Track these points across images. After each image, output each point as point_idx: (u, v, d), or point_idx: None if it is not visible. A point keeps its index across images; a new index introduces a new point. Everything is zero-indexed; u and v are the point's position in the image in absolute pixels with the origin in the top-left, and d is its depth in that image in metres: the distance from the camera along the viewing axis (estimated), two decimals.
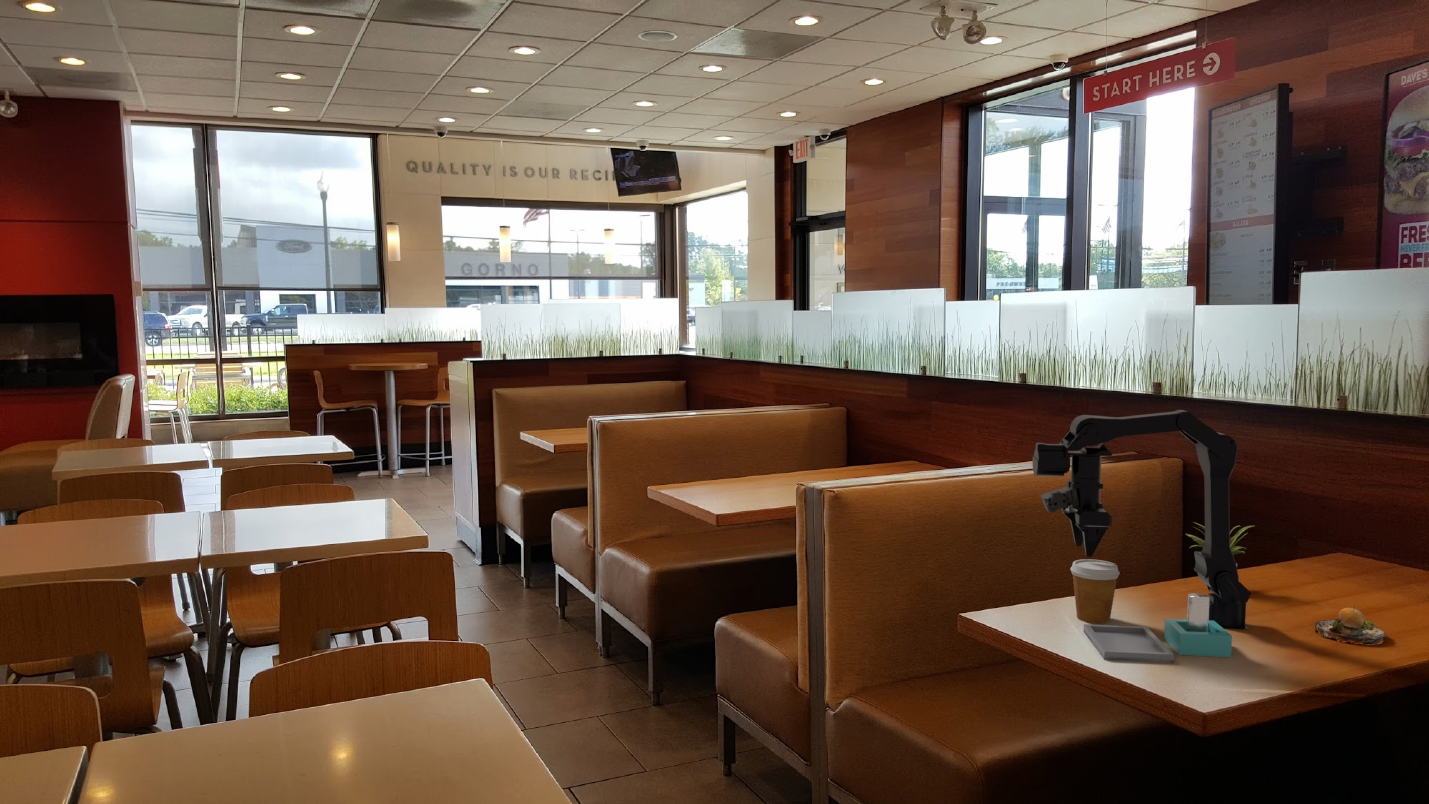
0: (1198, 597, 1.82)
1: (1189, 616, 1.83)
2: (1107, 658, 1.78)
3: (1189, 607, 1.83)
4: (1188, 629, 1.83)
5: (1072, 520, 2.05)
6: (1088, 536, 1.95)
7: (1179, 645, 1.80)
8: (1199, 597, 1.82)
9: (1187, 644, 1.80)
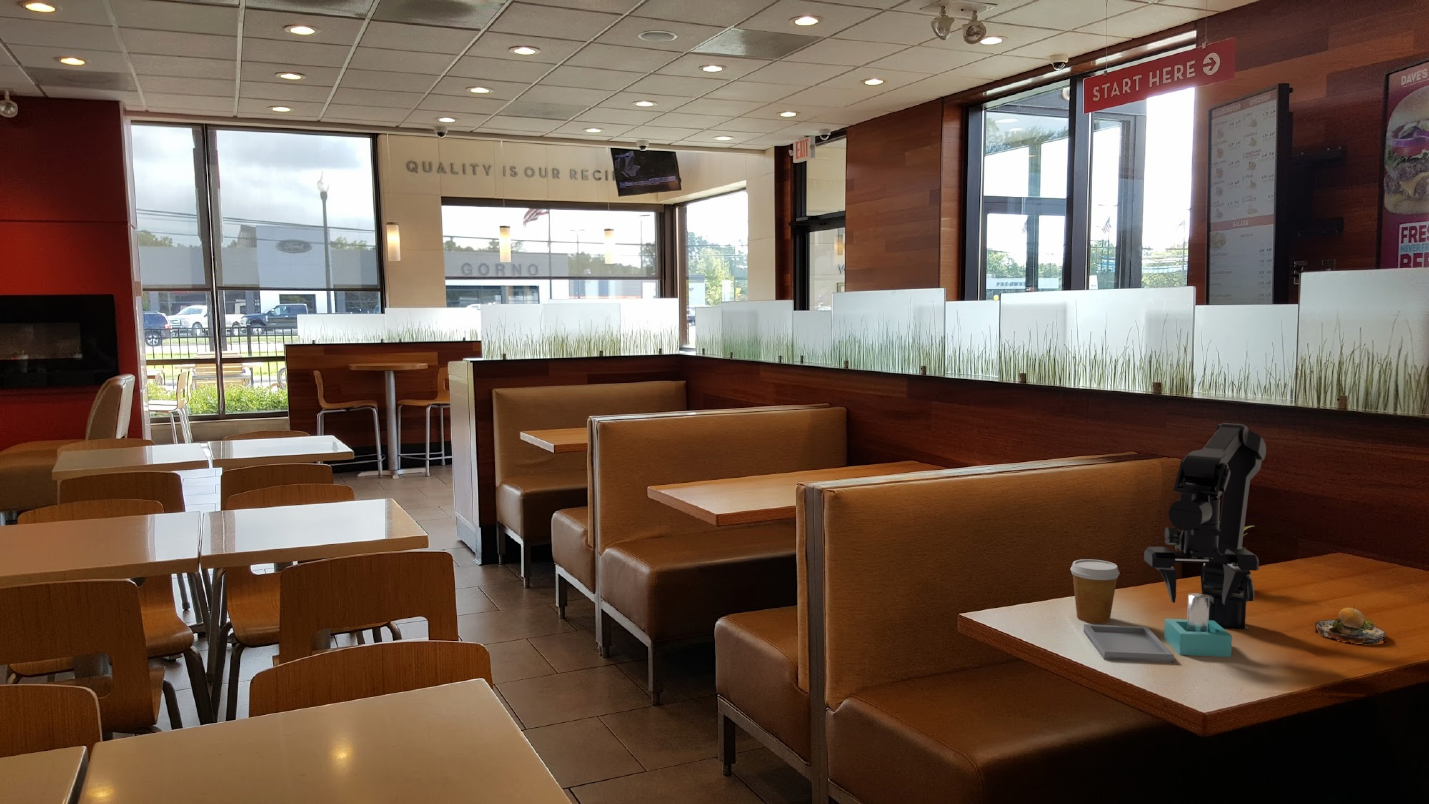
0: (1198, 597, 1.82)
1: (1189, 616, 1.83)
2: (1107, 658, 1.78)
3: (1189, 607, 1.83)
4: (1188, 629, 1.83)
5: (1224, 573, 1.83)
6: (1165, 578, 1.84)
7: (1179, 645, 1.80)
8: (1199, 597, 1.82)
9: (1187, 644, 1.80)
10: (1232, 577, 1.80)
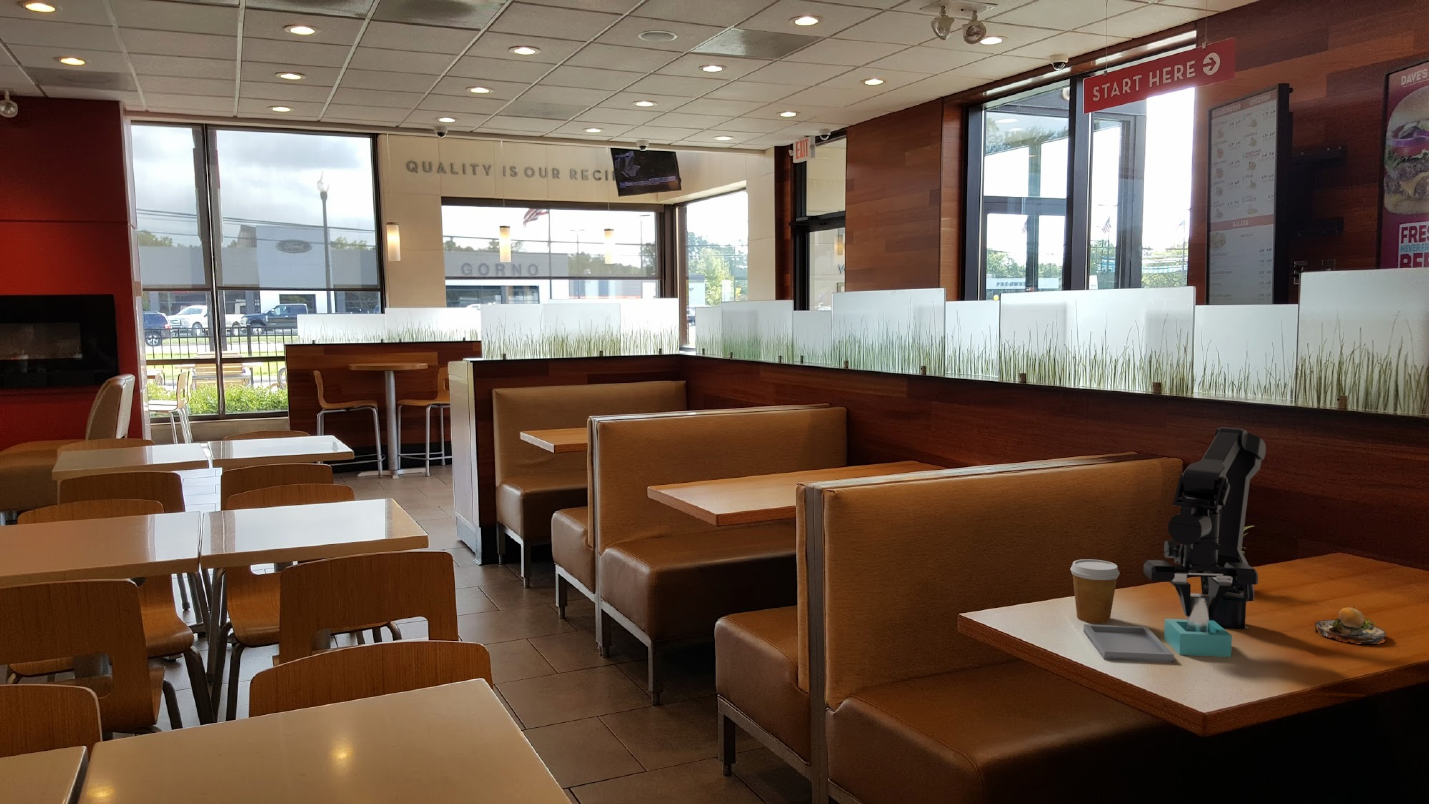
0: (1198, 597, 1.82)
1: (1189, 616, 1.83)
2: (1107, 658, 1.78)
3: None
4: (1188, 629, 1.83)
5: (1209, 587, 1.84)
6: (1179, 592, 1.84)
7: (1179, 645, 1.80)
8: (1199, 597, 1.82)
9: (1187, 644, 1.80)
10: (1216, 591, 1.81)
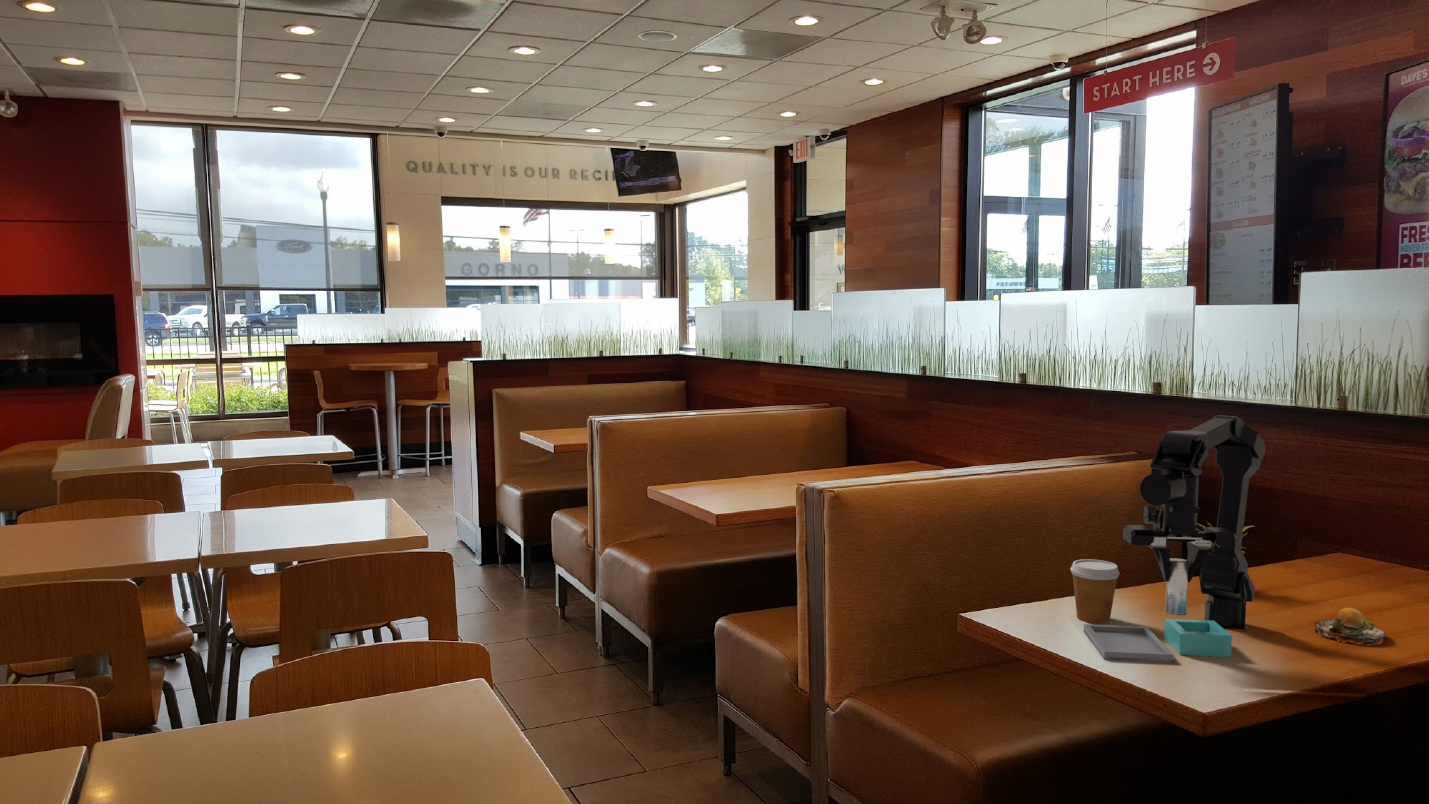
0: (1177, 561, 1.81)
1: (1168, 581, 1.82)
2: (1107, 658, 1.78)
3: None
4: (1167, 594, 1.83)
5: (1188, 551, 1.83)
6: (1159, 556, 1.83)
7: (1179, 645, 1.80)
8: (1178, 561, 1.81)
9: (1187, 644, 1.80)
10: (1195, 555, 1.80)
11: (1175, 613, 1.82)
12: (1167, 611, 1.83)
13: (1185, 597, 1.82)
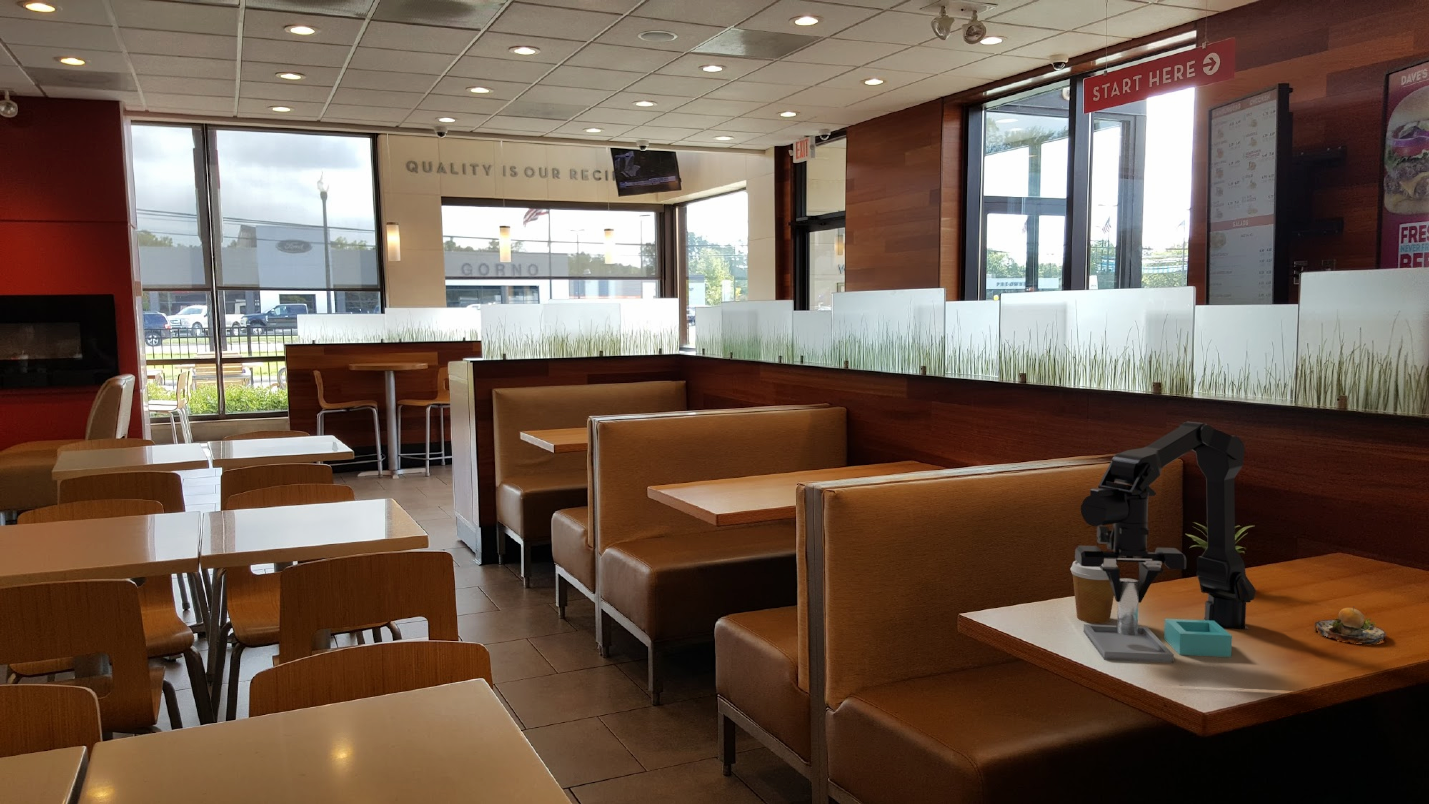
0: (1128, 582, 1.83)
1: (1119, 601, 1.84)
2: (1107, 658, 1.78)
3: None
4: (1118, 614, 1.84)
5: (1139, 572, 1.84)
6: (1110, 577, 1.85)
7: (1179, 645, 1.80)
8: (1129, 582, 1.83)
9: (1187, 644, 1.80)
10: (1145, 576, 1.81)
11: (1126, 633, 1.83)
12: (1118, 631, 1.84)
13: (1136, 618, 1.83)
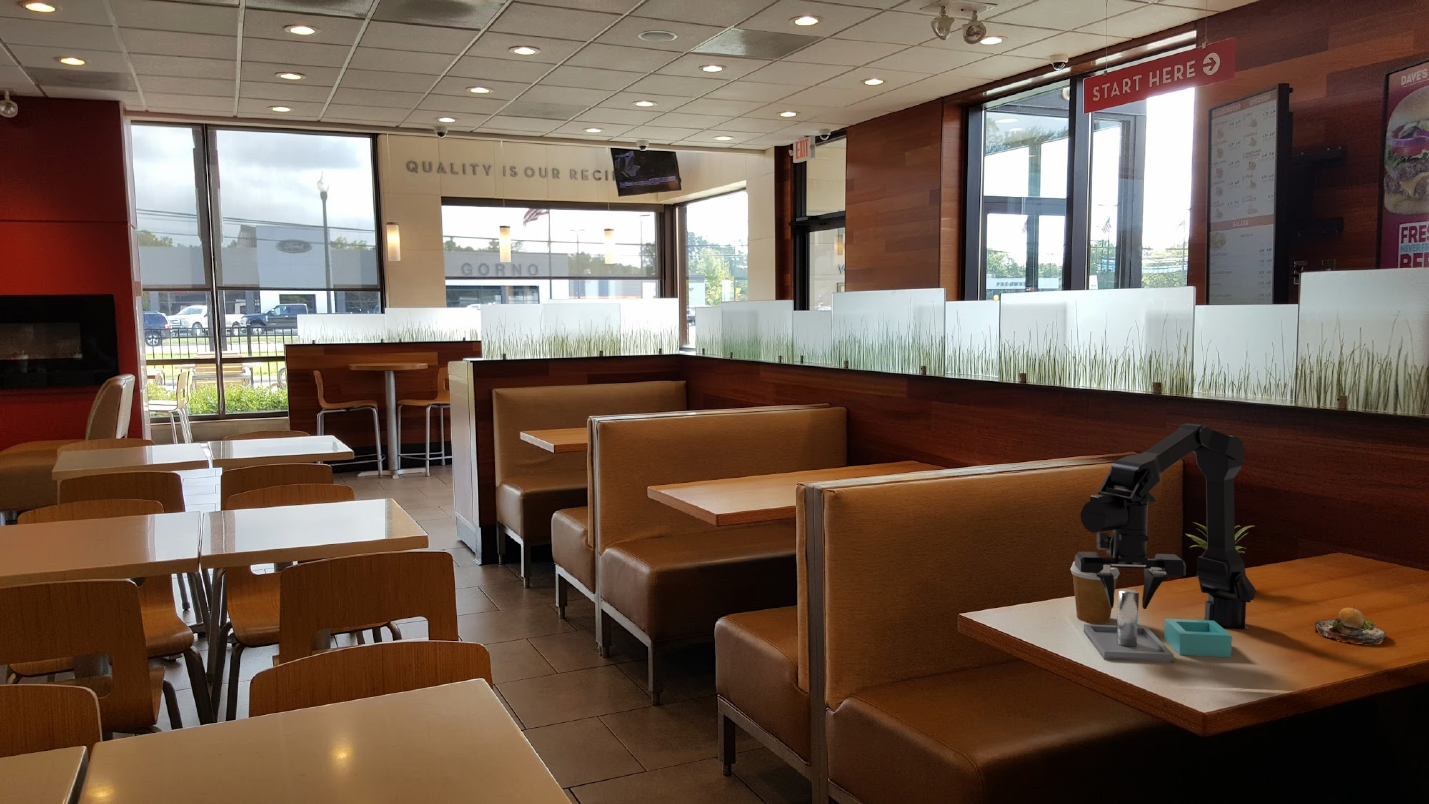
0: (1128, 592, 1.83)
1: (1119, 611, 1.84)
2: (1107, 658, 1.78)
3: (1119, 602, 1.84)
4: (1118, 624, 1.84)
5: (1145, 578, 1.84)
6: (1104, 583, 1.85)
7: (1179, 645, 1.80)
8: (1129, 592, 1.83)
9: (1187, 644, 1.80)
10: (1150, 582, 1.81)
11: (1125, 644, 1.83)
12: (1118, 642, 1.84)
13: (1136, 628, 1.83)
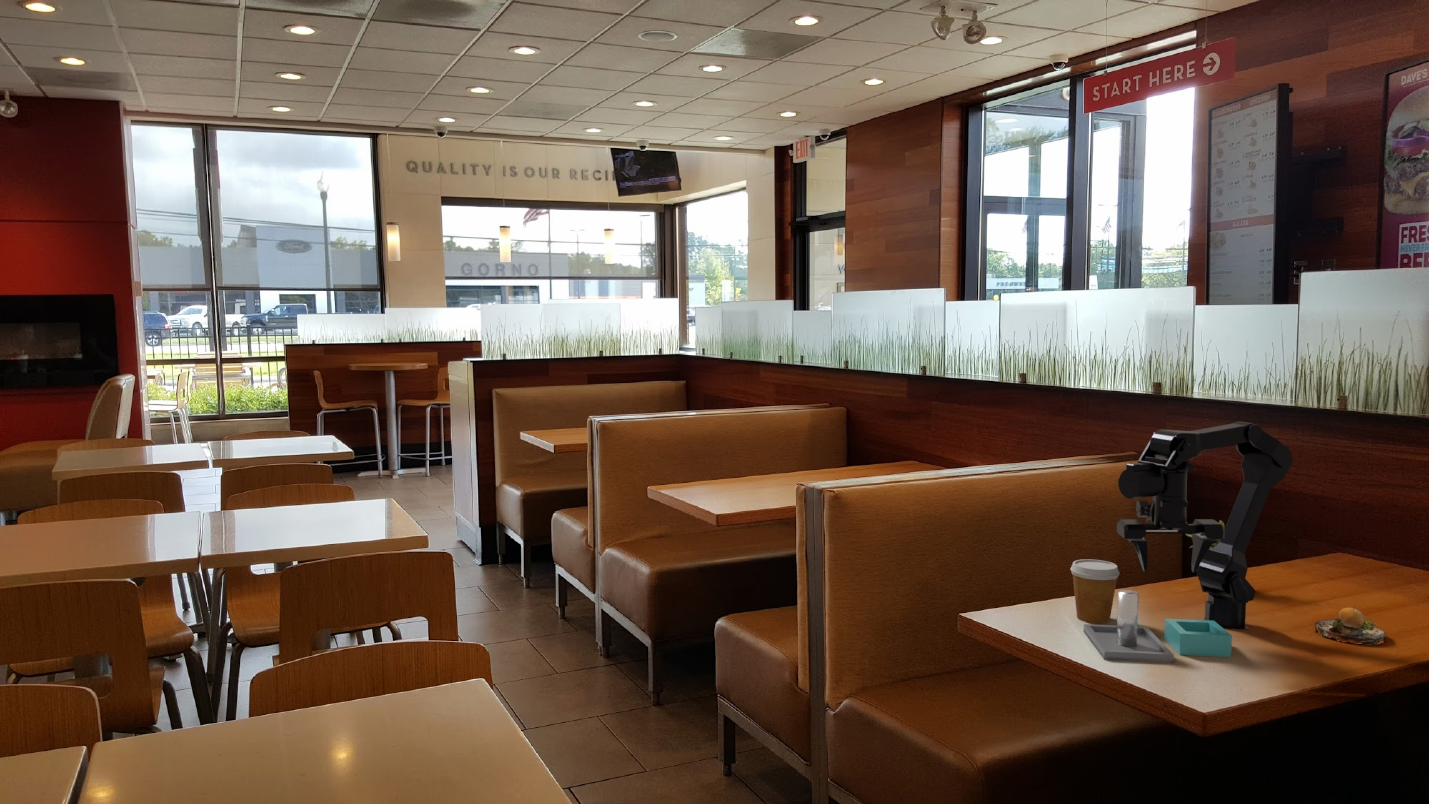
0: (1127, 593, 1.83)
1: (1119, 612, 1.84)
2: (1107, 658, 1.78)
3: (1119, 603, 1.84)
4: (1118, 625, 1.84)
5: (1193, 543, 1.93)
6: (1137, 549, 1.93)
7: (1179, 645, 1.80)
8: (1128, 593, 1.83)
9: (1187, 644, 1.80)
10: (1200, 546, 1.89)
11: (1125, 645, 1.83)
12: (1118, 642, 1.84)
13: (1136, 629, 1.83)
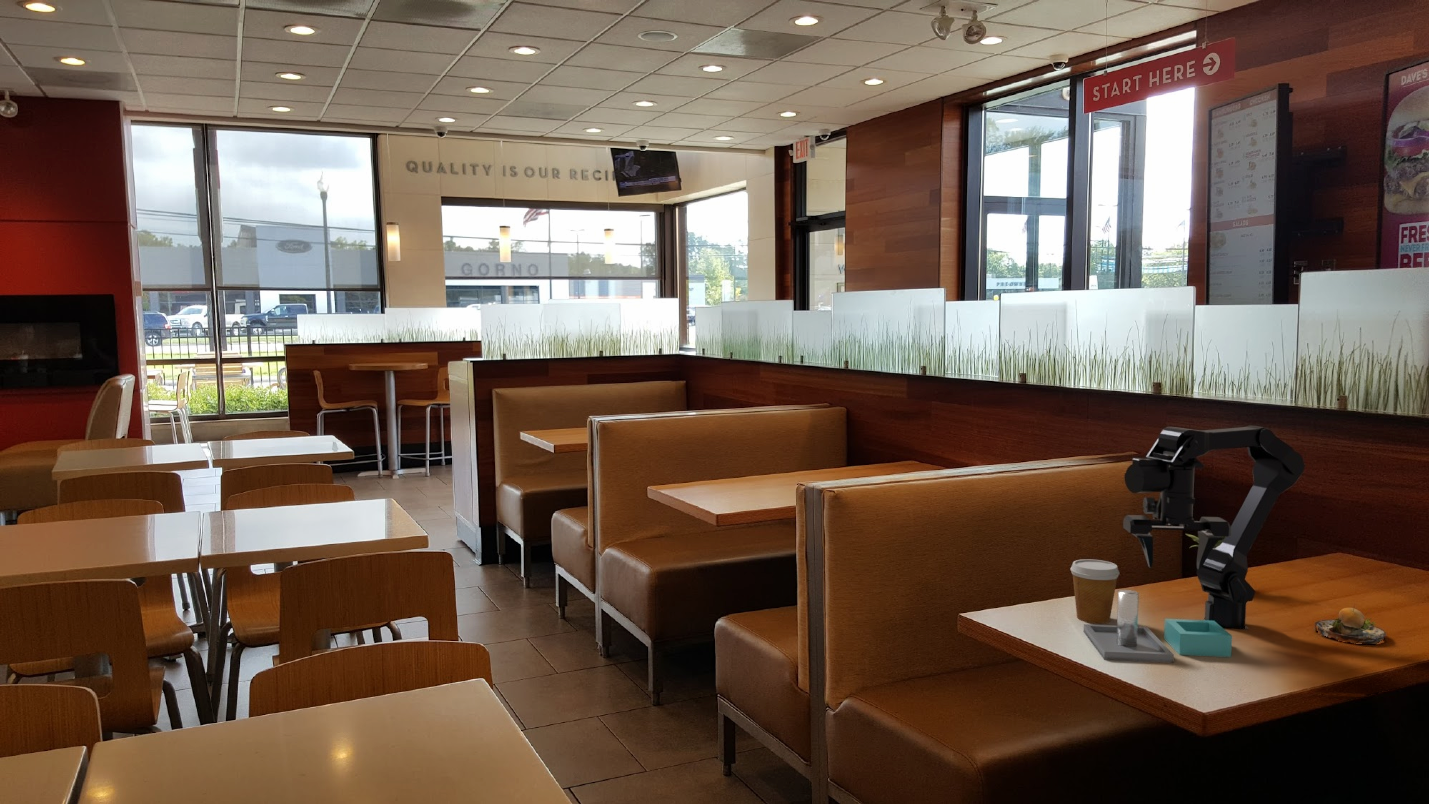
0: (1127, 593, 1.83)
1: (1119, 612, 1.84)
2: (1107, 658, 1.78)
3: (1119, 603, 1.84)
4: (1118, 625, 1.84)
5: (1199, 540, 1.94)
6: (1143, 544, 1.95)
7: (1179, 645, 1.80)
8: (1128, 593, 1.83)
9: (1187, 644, 1.80)
10: (1205, 543, 1.91)
11: (1125, 645, 1.83)
12: (1118, 642, 1.84)
13: (1136, 629, 1.83)
